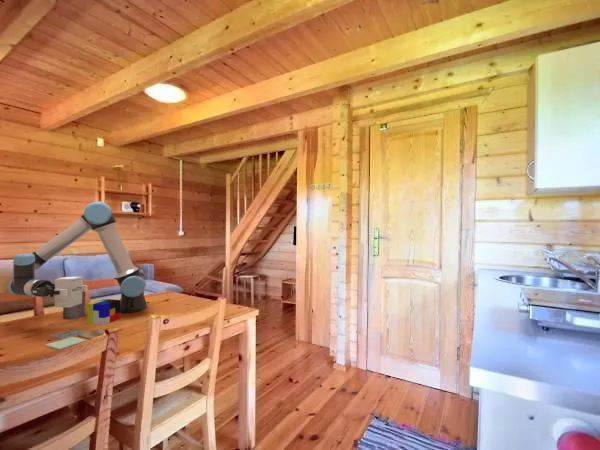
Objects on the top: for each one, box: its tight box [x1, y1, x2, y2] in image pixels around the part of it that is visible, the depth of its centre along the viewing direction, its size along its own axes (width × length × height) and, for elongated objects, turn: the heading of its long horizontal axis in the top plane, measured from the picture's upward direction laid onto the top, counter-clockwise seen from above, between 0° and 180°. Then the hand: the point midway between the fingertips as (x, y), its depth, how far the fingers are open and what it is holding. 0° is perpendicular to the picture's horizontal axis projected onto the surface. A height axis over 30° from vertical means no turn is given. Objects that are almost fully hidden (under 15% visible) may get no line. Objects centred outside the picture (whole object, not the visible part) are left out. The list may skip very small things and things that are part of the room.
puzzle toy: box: [86, 298, 121, 325], centre depth 156 cm, size 10×10×10 cm
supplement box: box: [54, 276, 83, 308], centre depth 137 cm, size 7×7×13 cm
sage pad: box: [45, 336, 88, 351], centre depth 125 cm, size 10×10×1 cm
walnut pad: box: [77, 327, 106, 340], centre depth 136 cm, size 10×10×1 cm
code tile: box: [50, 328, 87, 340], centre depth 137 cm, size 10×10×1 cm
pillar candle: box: [62, 291, 86, 320], centre depth 163 cm, size 10×10×15 cm
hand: (76, 290), depth 136 cm, fingers closed on supplement box, 9 cm apart
